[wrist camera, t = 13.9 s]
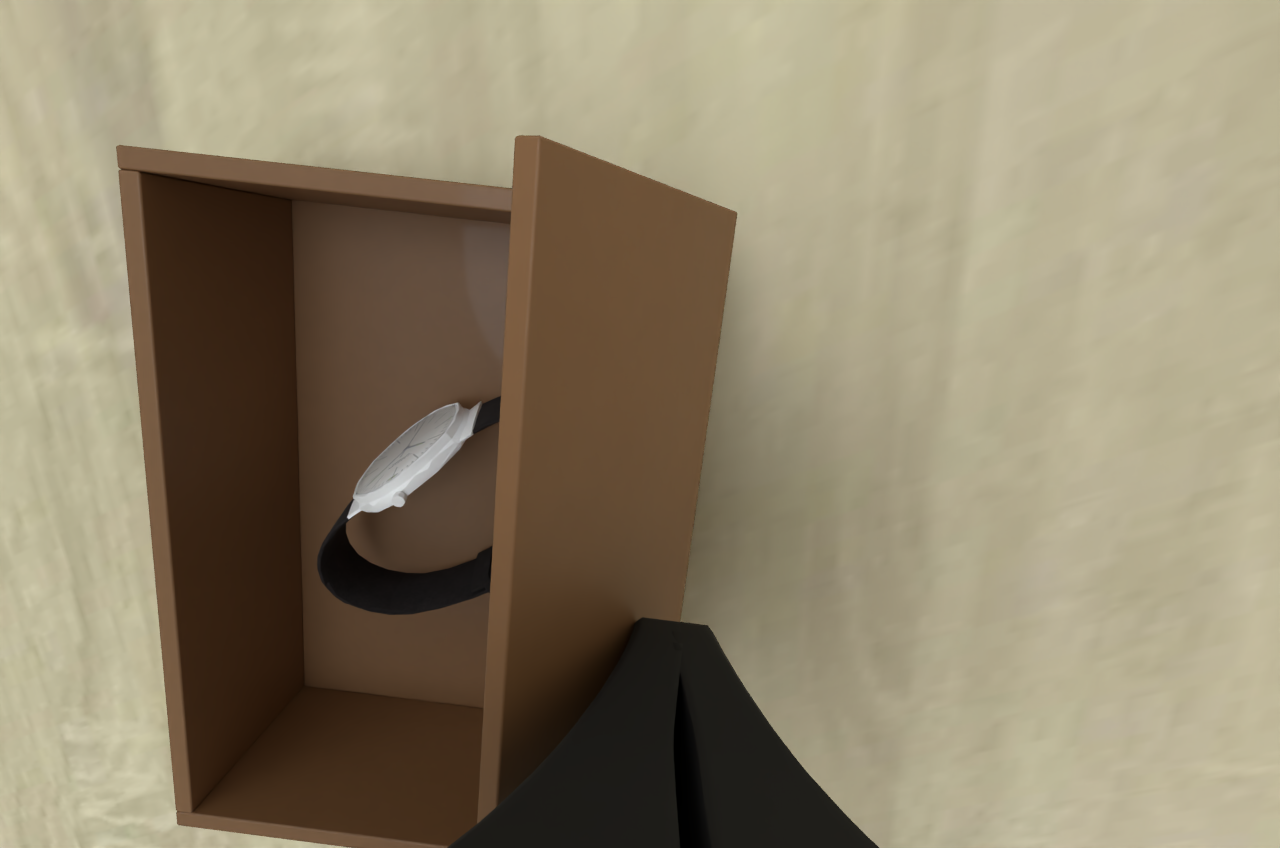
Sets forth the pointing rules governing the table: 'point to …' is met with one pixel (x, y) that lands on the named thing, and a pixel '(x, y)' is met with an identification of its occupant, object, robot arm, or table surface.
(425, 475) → the watch
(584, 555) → the flap
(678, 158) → the table surface
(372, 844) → the carton
